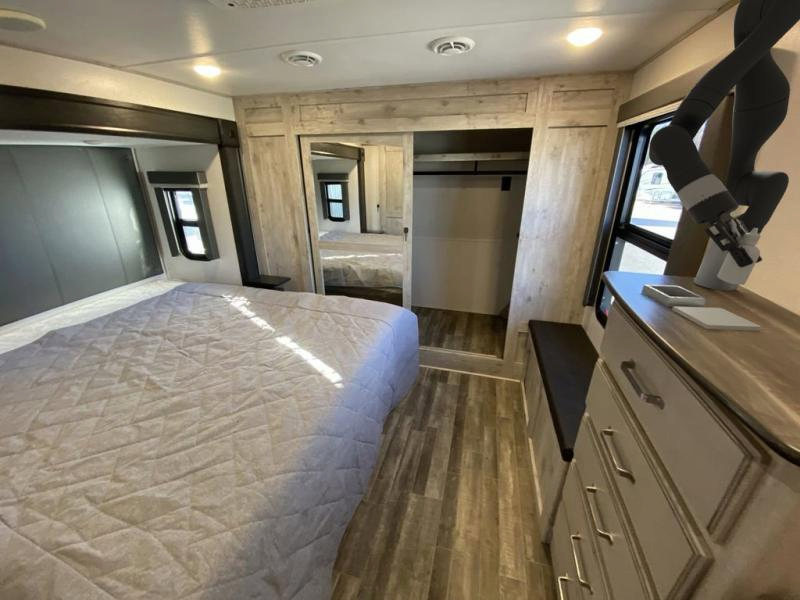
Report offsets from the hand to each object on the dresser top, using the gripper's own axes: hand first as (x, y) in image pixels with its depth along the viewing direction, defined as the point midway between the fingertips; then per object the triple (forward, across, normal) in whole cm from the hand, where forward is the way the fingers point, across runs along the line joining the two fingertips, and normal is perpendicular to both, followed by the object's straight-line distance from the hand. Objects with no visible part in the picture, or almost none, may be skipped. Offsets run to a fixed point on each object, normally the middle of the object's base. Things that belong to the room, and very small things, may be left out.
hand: (751, 263), depth 68 cm
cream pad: (+9, 0, +11) cm, 15 cm away
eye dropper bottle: (+2, 0, +5) cm, 5 cm away
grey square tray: (+1, +5, +19) cm, 20 cm away
